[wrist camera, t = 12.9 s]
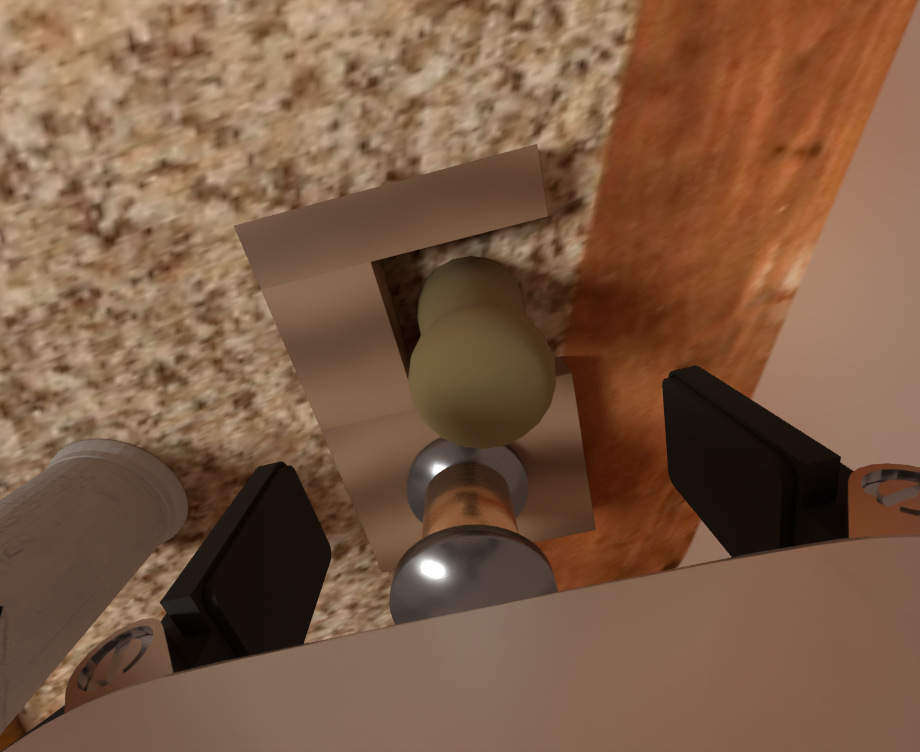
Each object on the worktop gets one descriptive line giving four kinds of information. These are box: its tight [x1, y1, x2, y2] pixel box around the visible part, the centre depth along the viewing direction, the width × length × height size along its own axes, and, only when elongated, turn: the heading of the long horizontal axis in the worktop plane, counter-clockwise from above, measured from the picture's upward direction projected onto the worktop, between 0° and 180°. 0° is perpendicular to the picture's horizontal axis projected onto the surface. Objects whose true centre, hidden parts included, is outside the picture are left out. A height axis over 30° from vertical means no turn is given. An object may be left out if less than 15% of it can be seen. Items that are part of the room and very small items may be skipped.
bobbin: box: [389, 437, 558, 625], centre depth 21 cm, size 7×7×8 cm
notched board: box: [234, 144, 596, 572], centre depth 24 cm, size 22×14×2 cm, turn 14°
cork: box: [408, 256, 556, 449], centre depth 19 cm, size 6×6×11 cm
